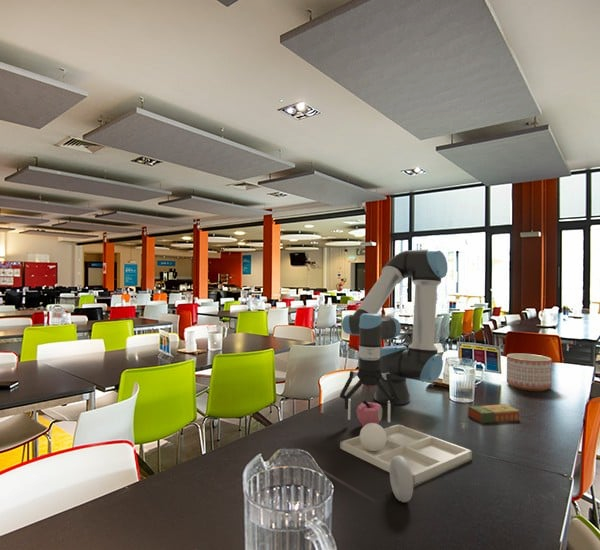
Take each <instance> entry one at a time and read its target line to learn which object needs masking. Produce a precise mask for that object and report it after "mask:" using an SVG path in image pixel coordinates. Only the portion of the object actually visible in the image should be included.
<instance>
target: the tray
mask: <svg viewBox="0 0 600 550" xmlns="http://www.w3.org/2000/svg"><path fill="white" fill-rule="evenodd" d="M383 429H384V430H385V432H386V435H387V441H386V444H385V446H384V447H383V448H382V449H381V450H379V451H375V452H373V451H369V450H367V449H366V448H364V446H363V445H362V443H361V441H360V435H358V436H355V437H352V438H351V437H350V438H348V439H344V440H341V441H340V442H339V449H340V450H341V451H345V452H347V453H349V454H351V455H353V456H355V457H356V458H359V459H361V460H362V461H365V462H367V463H370V464H371V465H373V466H375V467H377V468H379V469H380V470H383V471H385V472H388V473H389V474H390V463H391V460H392V459H393V457H395V456H402V457H404V458H405V459H406V460H407V462H408V464H409V466H410V469H411V472H412V478H413V485H414V484H416V483H418V484H420V483H422V482H421V481H423V482H425V481H427V480H429V479H432V478H433V476H434V477H436V476H438V475H440V474H442V473H445V472H446V471H449V470H452V469H453V468H455V467H458V466H460V465H462V464H464V463H467V462H469V461H471V460H473V451H472V450H471V449H469V448H466V447H463V446H461V445H458V444H455V443H452V442H449V441H447V440H443V439H441V438H438V437H435V436H432V435H430V434H428V433H424V432H421V431H419V430H416V429H414V428H410V427H407V426H405V425H402V424H399V423H397V424H395V425H394V424H393V425H391V426H387V427H384V428H383ZM428 478H429V479H428ZM426 479H427V480H426ZM424 480H425V481H424ZM419 482H420V483H419ZM416 485H417V484H416ZM414 486H415V485H414Z"/></svg>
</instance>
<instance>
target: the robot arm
mask: <svg viewBox="0 0 600 550" xmlns="http://www.w3.org/2000/svg"><path fill="white" fill-rule="evenodd" d="M447 273H448V261H447V257H446V256H445V254H444V253H443V251H441V250H439V249H430V248H429V249H413V250H404V251H402V252H399V253H398V254H396V255H394V256H393V257H392V258H390V259H389V260H388V261H387V263H386V264H385V265H384V266H383V267H382V269H381V275H380V276H379V278H378V279H377V280H376V282H375V283H374V284H373V286H372V287H371V289H370V290H369V292H368V293H367V294H366V295H365V298H364V299H363V300H362V302H361V303H360V304H359V306H358V307H357V308H356V310H355V311H354V313H353V314H347V315H345V316H344V317H343V319H342V322H341V329H342V330H343V332H344V333H345V334H348V335H351V336H359V342H358V343H359V344H358V357H359V358H358V371H357V372H356V371H354V370H350V371H349V374H348V379H347V380H346V382H345V384H344V386H343V388H342V390H341V392H340V394H339V398H340V399H344V409H345V410H347V420H349V421H350V420H351V404H352V403H351V401H352V400H351V397H352V396H353V395H354V394H355V393H356V391H358V390H359V388H360V387H361V386H365V387H366V386H371V387H374V386H376V388H375V391H374V400H375V401H376V402H379V403H382V404H385V405H386V404H387V423H391V413H393V412H394V410H395V409H394V408H395V405H406V404H409V403H410V402H411V394H410V392H409V388H408V384H407V379H408V380H409V379H410V380H413V381H418V382H422V383H434V382H436V381H437V380H438V379H439V377H440V375H441V373H442V371H443V366H444V360H443V357H442V355H440V354H439V353H438V352H439V349H438V347H436V346H435V332H436V329H435V328H436V312H437V311H436V310H437V291H438V289H437V288H438V286H439V285H440V284H441V283H442V279H443V278H445V277H446V276H447ZM407 278H411V282H412V284H414V286H415V287H414V304H413V305H414V307H413V322H412V325H413V326H412V342H411V343H410V344H409V345H408V347H407V345H402V344H401V345H389V346H388V345H387V346H382V340H388V339H389V340H391V339H394V338H397V337H399V336H400V334H401V331H402V325H401V323H400V321H399V320H398V319H397V318H395V317H390V316H389V317H382V315H381V314H379V312H380V310H381V309H382V307H383V305H384V304H385V302H386V301H387V299H388V298H389V297H390V295H391V294H392V292H393V291H394V289H395V287H396V286H397V285H398V284H400V283H402V282H403V280H404V279H407ZM356 377H357V378H358V379H359V380H357V382H356V383H355V384H354V386H353V387H352V388H351V389H349V387H350V385H351V383H352V381H353V379H355V378H356ZM348 389H349V391H348V392H347V390H348Z"/></svg>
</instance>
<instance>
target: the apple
mask: <svg viewBox="0 0 600 550" xmlns="http://www.w3.org/2000/svg"><path fill="white" fill-rule="evenodd" d="M356 416H357V418H358V419H357V420H359V422H360V423H361V426H362V428H363V427H364V426H365V425H366V424H369V423H376V424H379V423H380V422H381V420H382V417H383V407H382V405H381V404H379V403H377V402H370V401H366V400H363V401H362V402H361V403H360V404H359V405H358V406H357V408H356ZM379 425H380V424H379Z"/></svg>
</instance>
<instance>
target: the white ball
mask: <svg viewBox="0 0 600 550" xmlns="http://www.w3.org/2000/svg"><path fill="white" fill-rule="evenodd" d="M359 436H360V441H361V443H362V445H363V446H364V448H366V449H367V450H369V451H373V452H375V451H379V450H381V449H382V448H383V447H384V446H385V444H386V441H387V435H386V432H385V430H384V428H383V426H382V425H380V424H376V423H369V424H366V425H365V426H364V427H363V426H362V427H361V429H360V431H359Z"/></svg>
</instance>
